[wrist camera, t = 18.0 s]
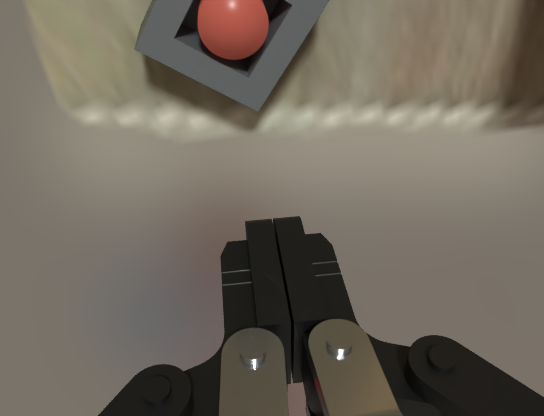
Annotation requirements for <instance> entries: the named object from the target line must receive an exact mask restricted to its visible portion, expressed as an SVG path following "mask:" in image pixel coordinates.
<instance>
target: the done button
mask: <svg viewBox="0 0 544 416" xmlns="http://www.w3.org/2000/svg"><path fill="white" fill-rule="evenodd" d="M268 27H269V20H268V15H267V12H266V9H265V6H264V3H263V0H198V31H199V35H200V37H201V40H202V41H203V43H204V45H205V46H206V47H207V48H208V49H209V50H210V51H211V52H212V53H213V54H215V55H217V56H219V57H221V58H224V59H229V60H238V59H243V58H246V57H248V56H250V55H252V54H253V53H255V52H256V51H257V50H258V49H259V48H260V47H261V46H262V44H263V43H264V41H265V39H266V36H267V33H268Z"/></svg>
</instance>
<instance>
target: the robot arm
mask: <svg viewBox="0 0 544 416" xmlns="http://www.w3.org/2000/svg"><path fill="white" fill-rule="evenodd" d="M245 226H246V227H245V228H246V240H243V241H232V242H227V244H226V246H225V248H224V250H223V252H222V254H221V273H222V291H223V292H222V293H223V311H224V328H225V329H224V330H225V335H224V340H223V343H222V346H221V347H220V349H219V350H218V351H217V353H216V354H215V355H214V356H213V357H211V358H210V359H209V360H207V361H206V362H204V363H202V364H200V365H198V366H195V367H193V368H191V369H188V370H186V371H182V370H181V369H180V368H178V367H175V366H172V365H166V364H162V365H161V364H160V365H154V366H151V367H148V368H146V369H144V370H142V371H141V372H139V373H138V374H137V375H135V376H134V377H133V378H132V380H131V381H130V382H129V383H128V384H127V385H126V386H125V387H124V388H123V389H122V390H121V391H120V392H119V393H118V395H117V396H116V397H115V398H114V399H113V400H112V401H111V402H110V403H109V404H108V405H107V407H106V408H105V409H104V410H103V411H102V412H101V413H100V414H99V415H98V416H289V409H288V396H287V384H290V383H291V373H292V378H293V383H299V382H303V384H304V390H305V395H306V415H307V416H544V397H543V396H541V395H539V394H538V393H536V392H535V391H533V390H531V389H530V388H528V387H527V386H525V385H524V384H522V383H521V382H519V381H517V380H516V379H514V378H513V377H511V376H510V375H508V374H506V373H505V372H503V371H502V370H500V369H499V368H497V367H495V366H494V365H492V364H491V363H489V362H487V361H486V360H484V359H483V358H481V357H479V356H478V355H476V354H475V353H473V352H472V351H470V350H469V349H467V348H465V347H464V346H462V345H461V344H459V343H458V342H456V341H454V340H452V339H449V338H447V337H443V336H438V335H430V336H424V337H422V338H419V339H418V340H416V341H415V342H414V343H413V344H412V346H411V347H408V346H402V345H397V344H391V343H387V342H383V341H380V340H377V339H375V338H373V337H371V336H370V335H369V334H367V333H366V332H365V331H364V330H363V329H362V328H361V327H360V326H359V324H358V323H357V321H356V318H355V316H354V312H353V309H352V306H351V303H350V300H349V297H348V293H347V290H346V287H345V284H344V281H343V278H342V275H341V271H340V268H339V265H338V263H337V259H336V256H335V252H334V249H333V246H332V244H331V243H330V242H329V241H328V240H327V239H326V238H325V237H324V236H323V235H322V234H321V233H317V234H305V233H304V229H303V225H302V221H301V218H300V217H299V216H298V217H297V216H296V217H286V218H274V219H273V223H272V219H266V220H265V219H264V220H253V221H245Z"/></svg>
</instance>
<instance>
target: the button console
mask: <svg viewBox="0 0 544 416" xmlns="http://www.w3.org/2000/svg"><path fill="white" fill-rule="evenodd" d="M328 2H329V0H263V3H264V6H265V9H266V12H267V15H268V20H269V27H268V33H267V36H266V39H265V41H264V43H263V44H262V46H261V47H260V48H259V49H258V50H257V51H256V52H255V53H253V54H252V55H250V56H248V57H246V58H243V59H238V60H229V59H224V58H221V57H219V56H217V55H215V54H213V53H212V52H211V51H210V50H209V49H208V48H207V47H206V46H205V45H204V43H203V41H202V40H201V37H200V35H199V31H198V0H152V2H151V4H150V7H149V9H148V11H147V13H146V15H145V18H144V20H143V22H142V24H141V26H140V30H139V34H138V37H137V41H136V45H135V48H134V49H135V50H137V51H139V52H141V53H143V54H145V55H147V56H149V57H150V58H152V59H154V60H156V61H158V62H160V63H162V64H164V65H166V66H168V67H170V68H172V69H174V70H176V71H178V72H180V73H182V74H184V75H186V76H188V77H190V78H192V79H194V80H196V81H198V82H200V83H202V84H204V85H206V86H208V87H210V88H212V89H214V90H216V91H218V92H220V93H222V94H224V95H226V96H228V97H230V98H232V99H234V100H236V101H238V102H240V103H241V104H243V105H245V106H247V107H249V108H251V109H253V110H255V111H257V112H258V111H259V110H260V108H261V106H262V105H263V103H264V102H265V100H266V99H267V97H268V95H269V94H270V92H271V91H272V89H273V88H274V86H275V85H276V83H277V81H278V80H279V78H280V77H281V75H282V74H283V72H284V71H285V69H286V67H287V66H288V64H289V63H290V61H291V60H292V58H293V56H294V55H295V53H296V52H297V50H298V49H299V47H300V46H301V44H302V42H303V41H304V39H305V38H306V36H307V35H308V33H309V31H310V30H311V28H312V27H313V25H314V24H315V22H316V21H317V19H318V17H319V16H320V14H321V13H322V11H323V10H324V8H325V6H326V5H327V3H328Z"/></svg>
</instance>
